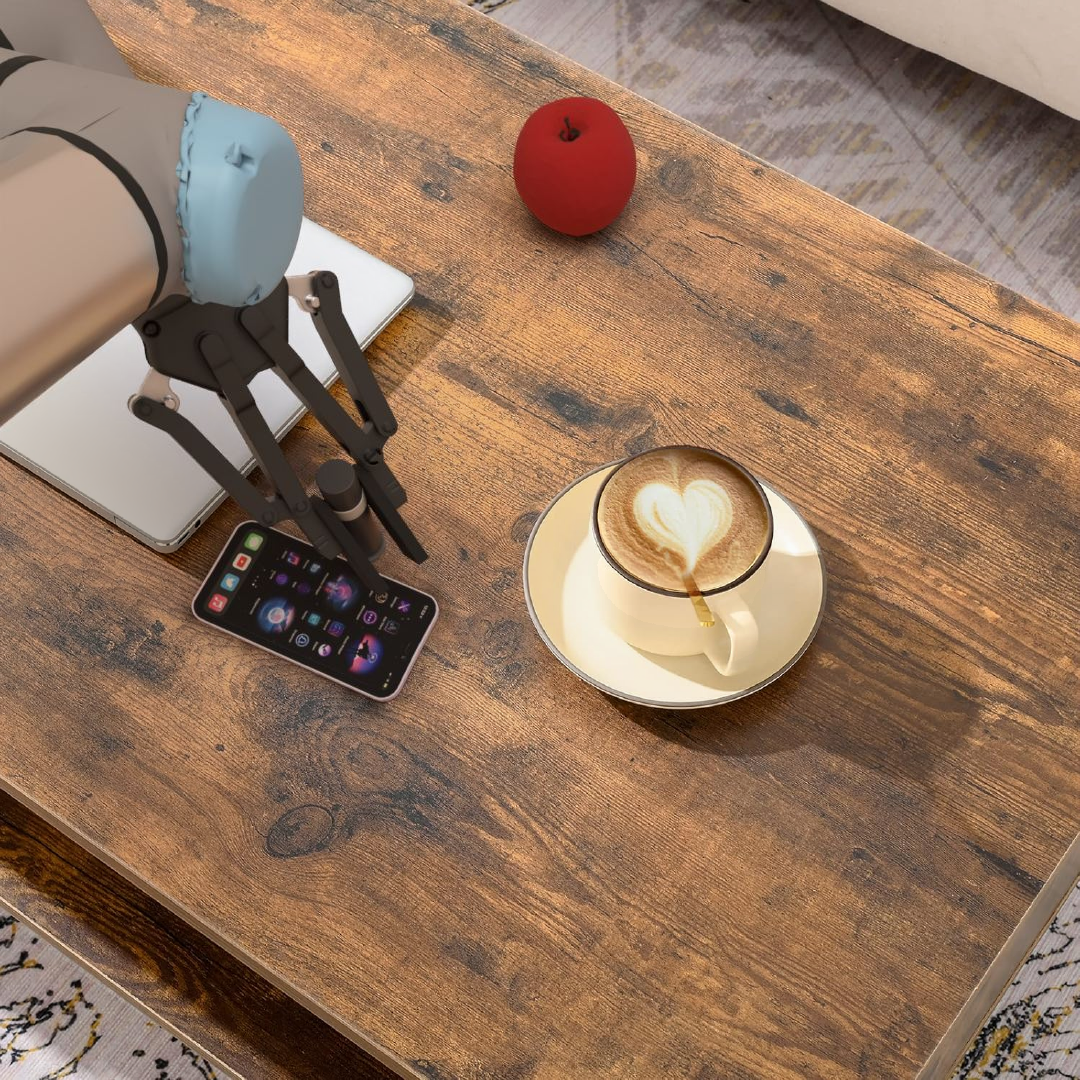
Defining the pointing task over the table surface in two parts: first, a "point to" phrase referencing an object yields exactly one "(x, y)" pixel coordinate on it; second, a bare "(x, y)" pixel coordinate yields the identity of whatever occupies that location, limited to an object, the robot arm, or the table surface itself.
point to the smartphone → (315, 611)
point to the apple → (575, 165)
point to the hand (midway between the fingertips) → (396, 571)
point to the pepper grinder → (350, 505)
